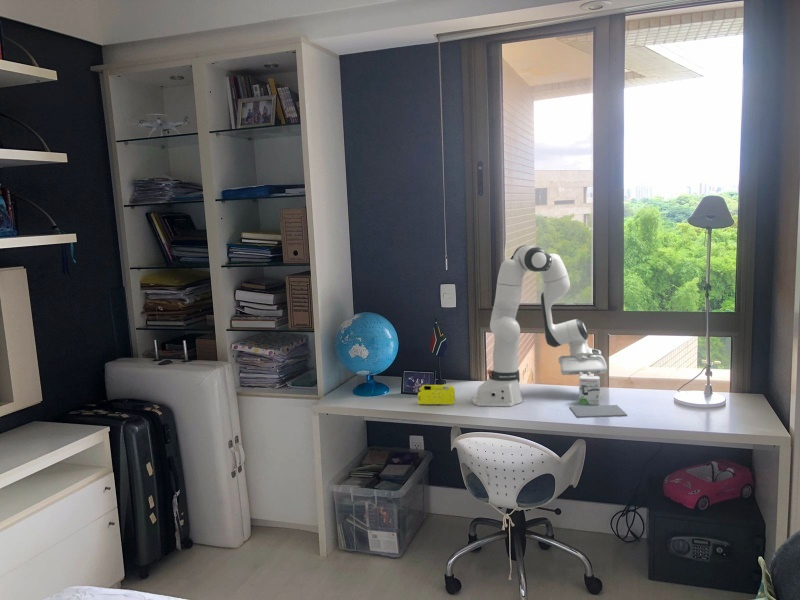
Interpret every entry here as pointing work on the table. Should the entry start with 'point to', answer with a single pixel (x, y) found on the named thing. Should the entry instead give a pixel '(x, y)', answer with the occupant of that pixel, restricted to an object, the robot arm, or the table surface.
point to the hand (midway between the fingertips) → (586, 381)
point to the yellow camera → (436, 394)
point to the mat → (597, 411)
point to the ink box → (589, 390)
